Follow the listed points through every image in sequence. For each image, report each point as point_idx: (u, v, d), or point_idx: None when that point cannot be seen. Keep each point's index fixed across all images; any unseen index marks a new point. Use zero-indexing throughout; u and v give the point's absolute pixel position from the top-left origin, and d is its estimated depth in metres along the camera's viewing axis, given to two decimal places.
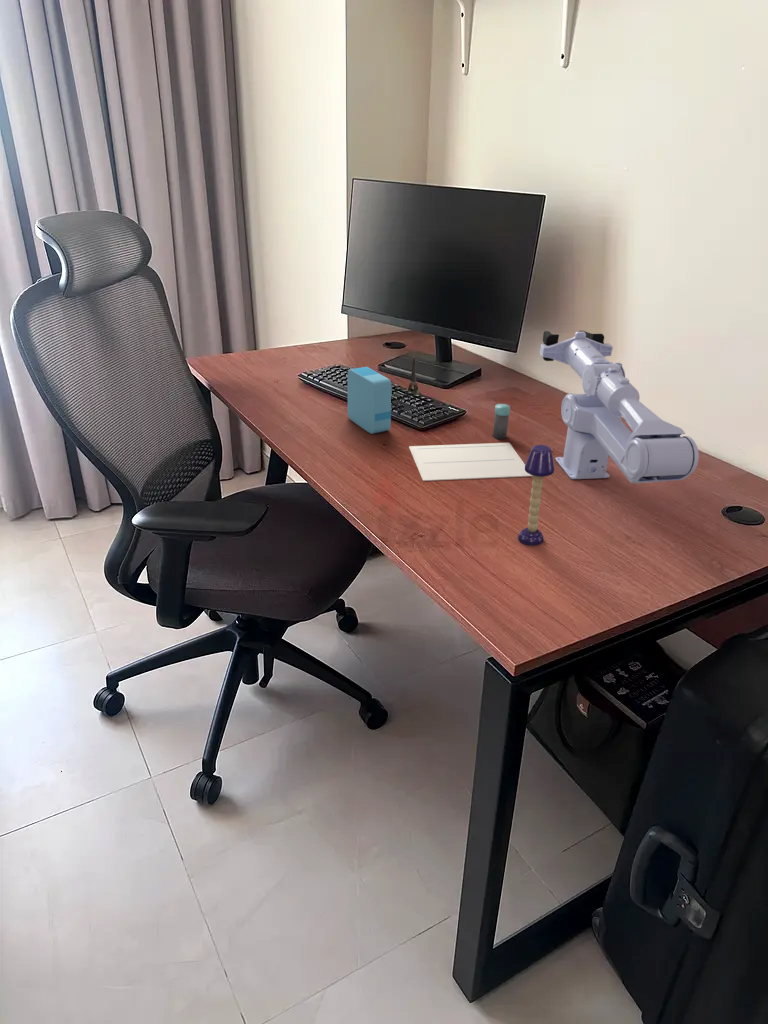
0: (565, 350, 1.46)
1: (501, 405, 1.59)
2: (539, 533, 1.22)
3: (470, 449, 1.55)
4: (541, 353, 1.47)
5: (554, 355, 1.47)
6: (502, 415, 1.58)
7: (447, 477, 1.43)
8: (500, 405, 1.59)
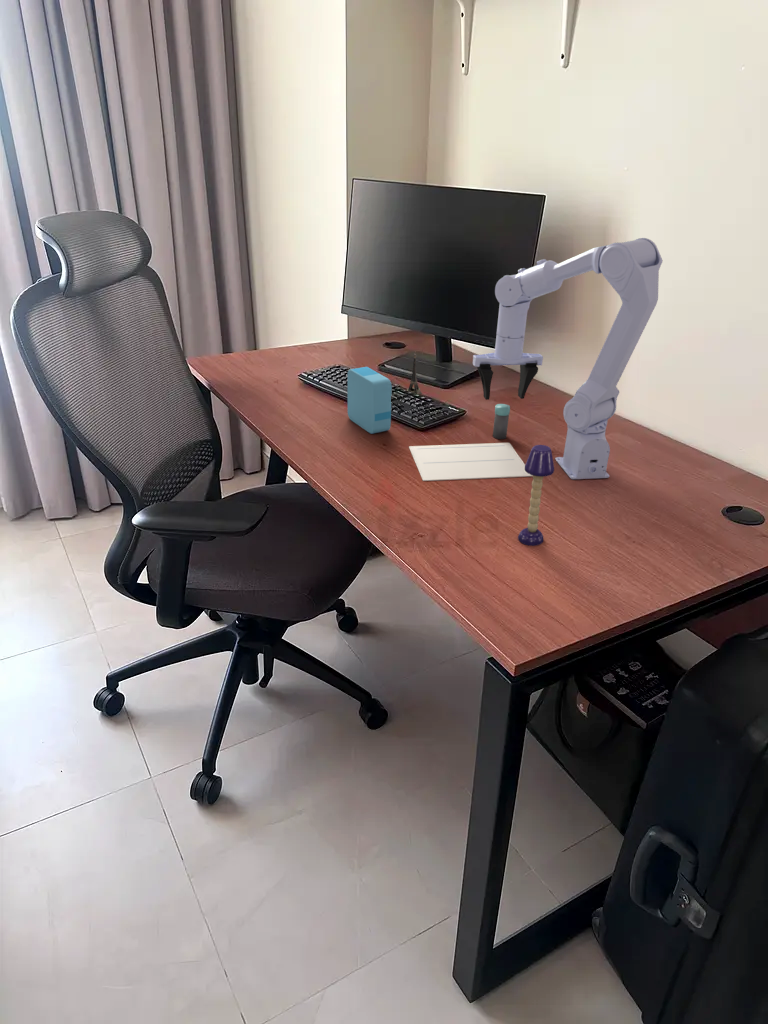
0: (494, 353, 1.53)
1: (501, 405, 1.59)
2: (539, 533, 1.22)
3: (470, 449, 1.55)
4: (474, 360, 1.52)
5: (486, 358, 1.52)
6: (502, 415, 1.58)
7: (447, 477, 1.43)
8: (500, 405, 1.59)
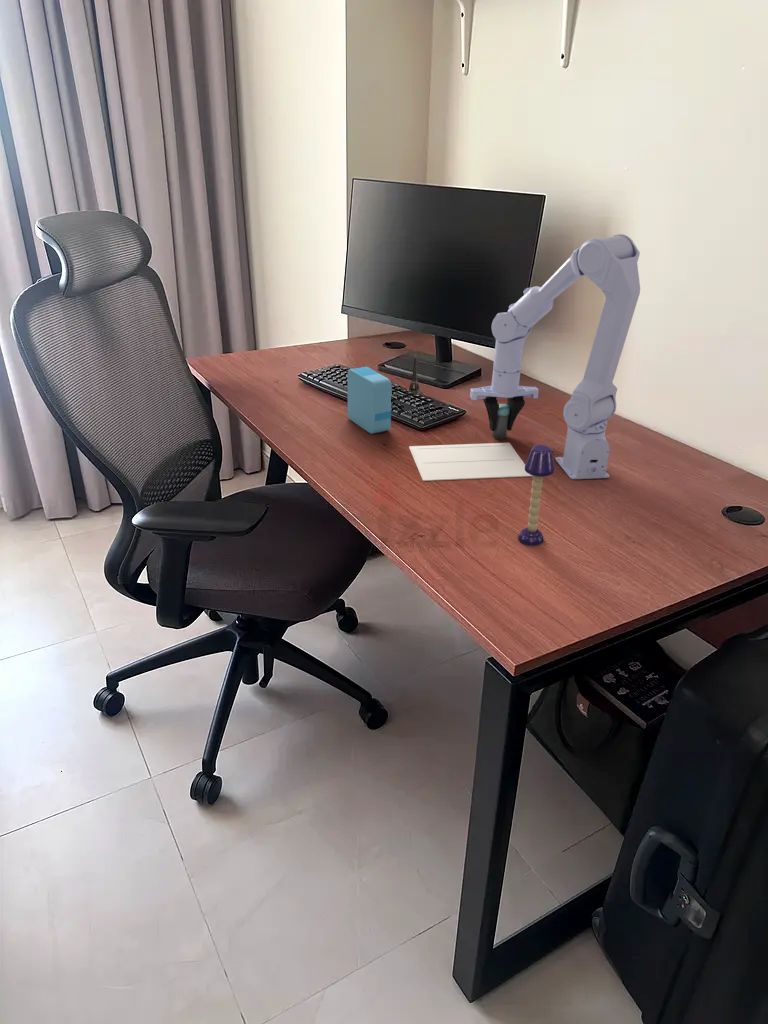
0: (491, 387, 1.56)
1: (501, 405, 1.59)
2: (539, 533, 1.22)
3: (470, 449, 1.55)
4: (471, 394, 1.55)
5: (483, 391, 1.55)
6: (502, 415, 1.58)
7: (447, 477, 1.43)
8: (500, 405, 1.59)
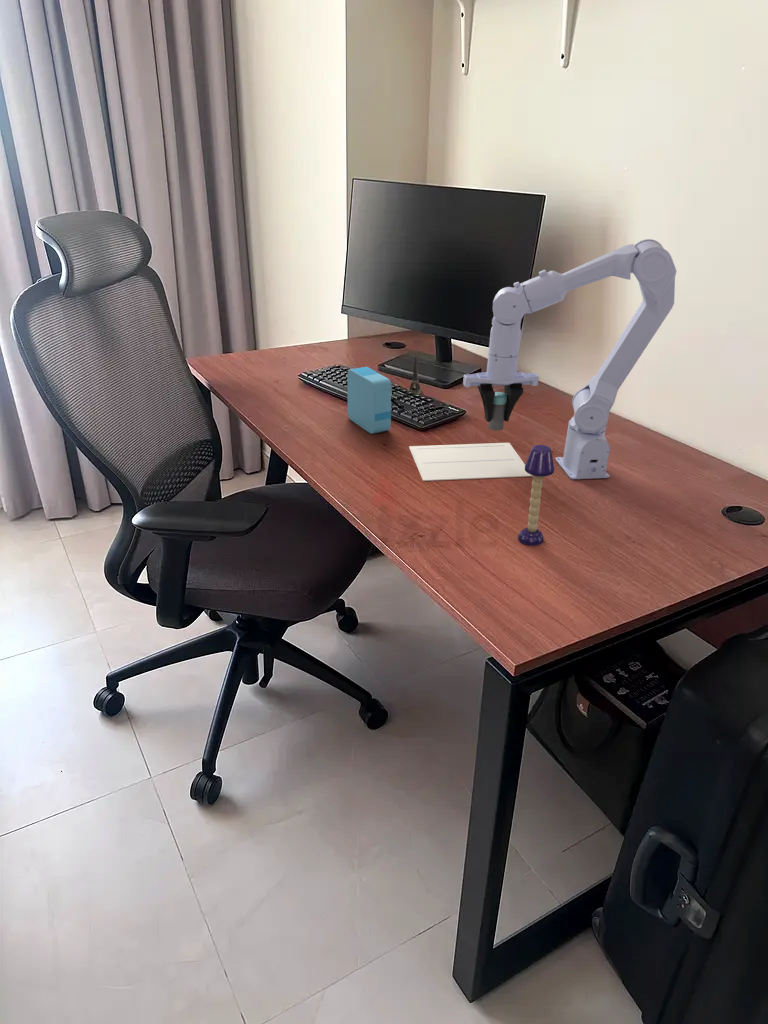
0: (486, 373, 1.42)
1: (497, 393, 1.45)
2: (539, 533, 1.22)
3: (470, 449, 1.55)
4: (465, 380, 1.42)
5: (478, 378, 1.41)
6: (498, 404, 1.44)
7: (447, 477, 1.43)
8: (496, 393, 1.45)
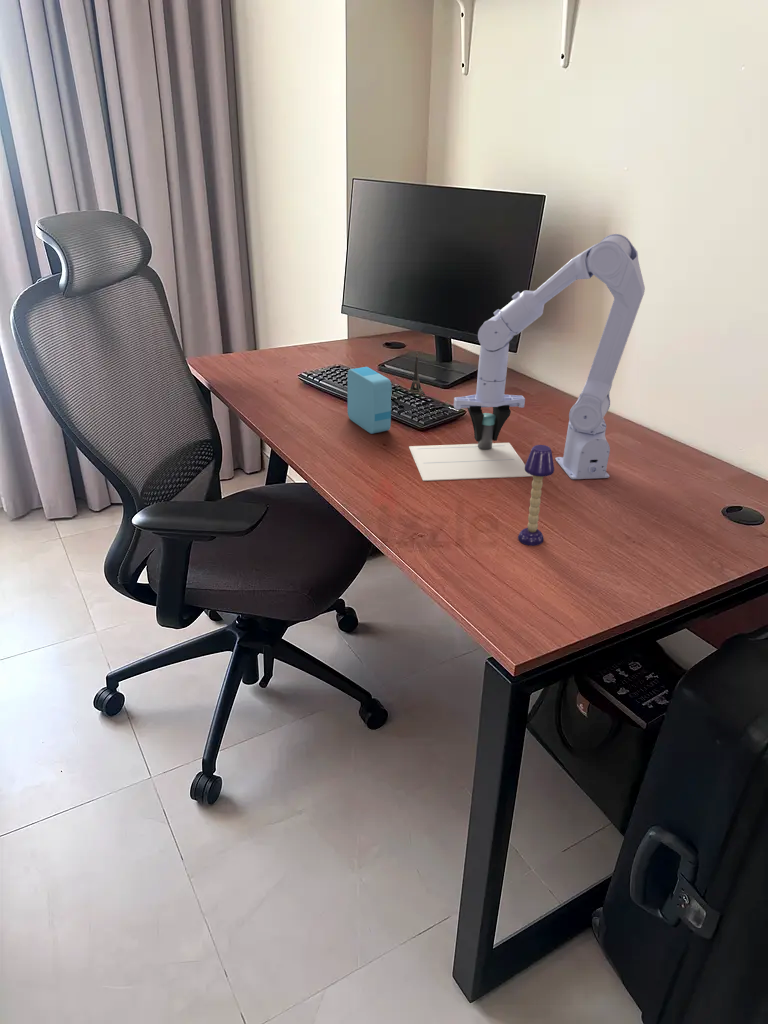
0: (475, 395, 1.50)
1: (486, 414, 1.53)
2: (539, 533, 1.22)
3: (470, 449, 1.55)
4: (455, 403, 1.49)
5: (467, 401, 1.49)
6: (487, 425, 1.52)
7: (447, 477, 1.43)
8: (485, 414, 1.53)
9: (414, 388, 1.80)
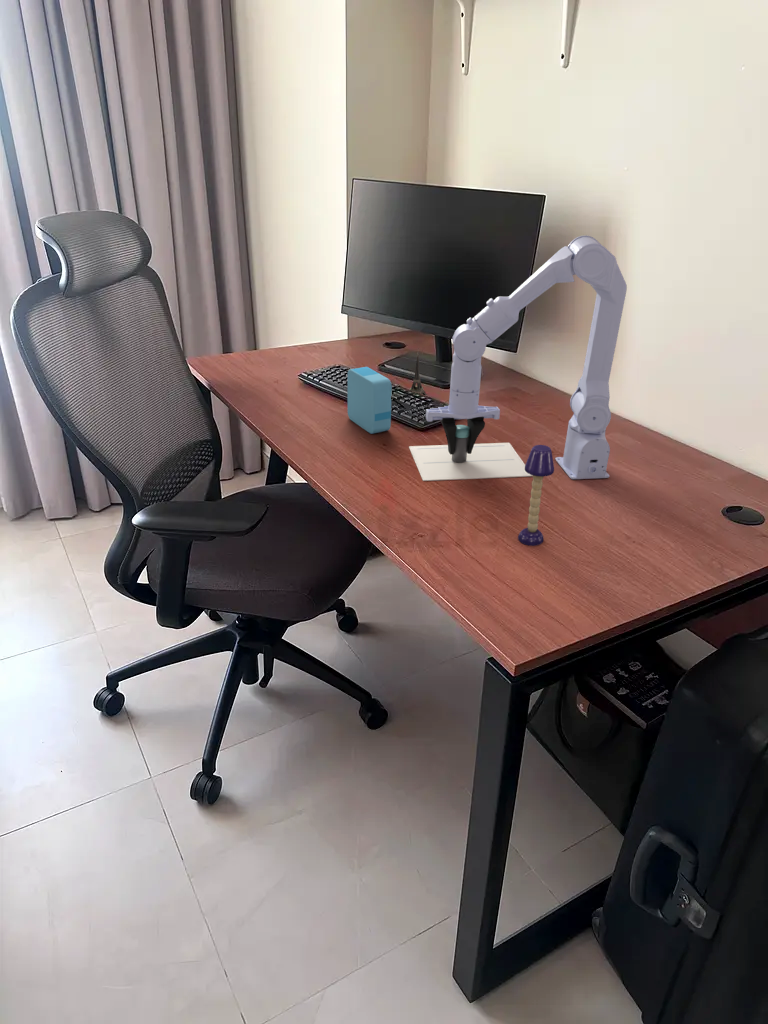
0: (448, 407, 1.44)
1: (460, 426, 1.47)
2: (539, 533, 1.22)
3: None
4: (427, 415, 1.43)
5: None
6: (461, 437, 1.46)
7: (447, 477, 1.43)
8: (459, 426, 1.47)
9: (415, 388, 1.80)
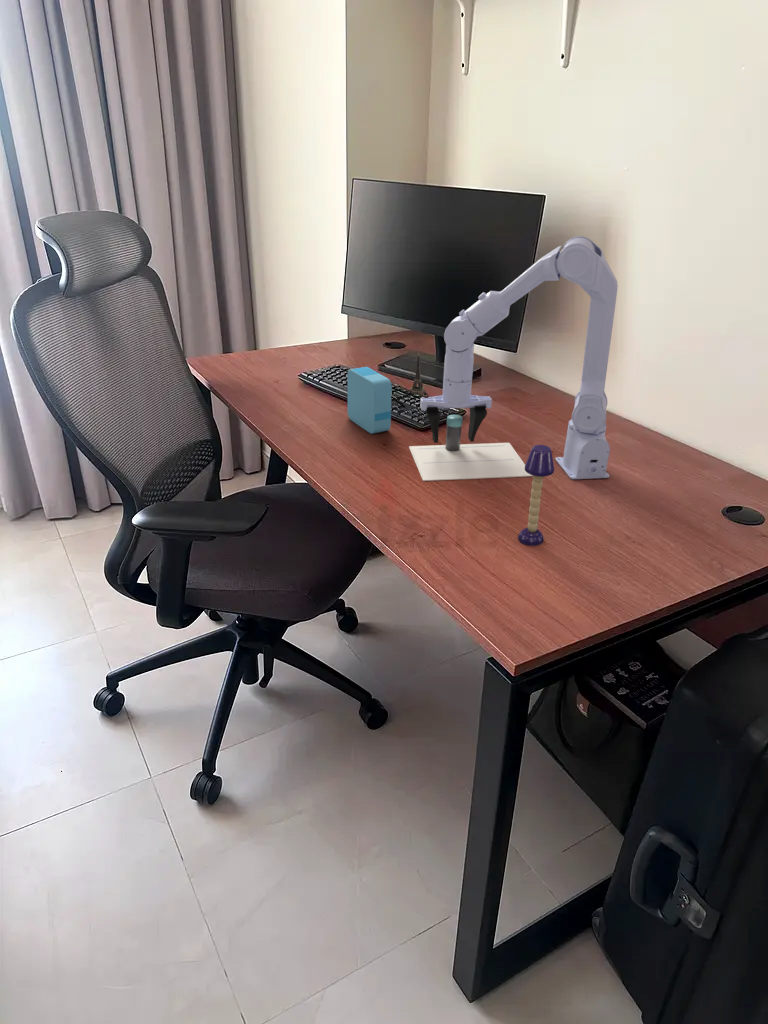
0: (442, 396, 1.49)
1: (453, 416, 1.52)
2: (539, 533, 1.22)
3: (470, 449, 1.55)
4: (421, 404, 1.48)
5: (434, 401, 1.48)
6: (454, 427, 1.51)
7: (447, 477, 1.43)
8: (452, 416, 1.52)
9: (416, 387, 1.80)
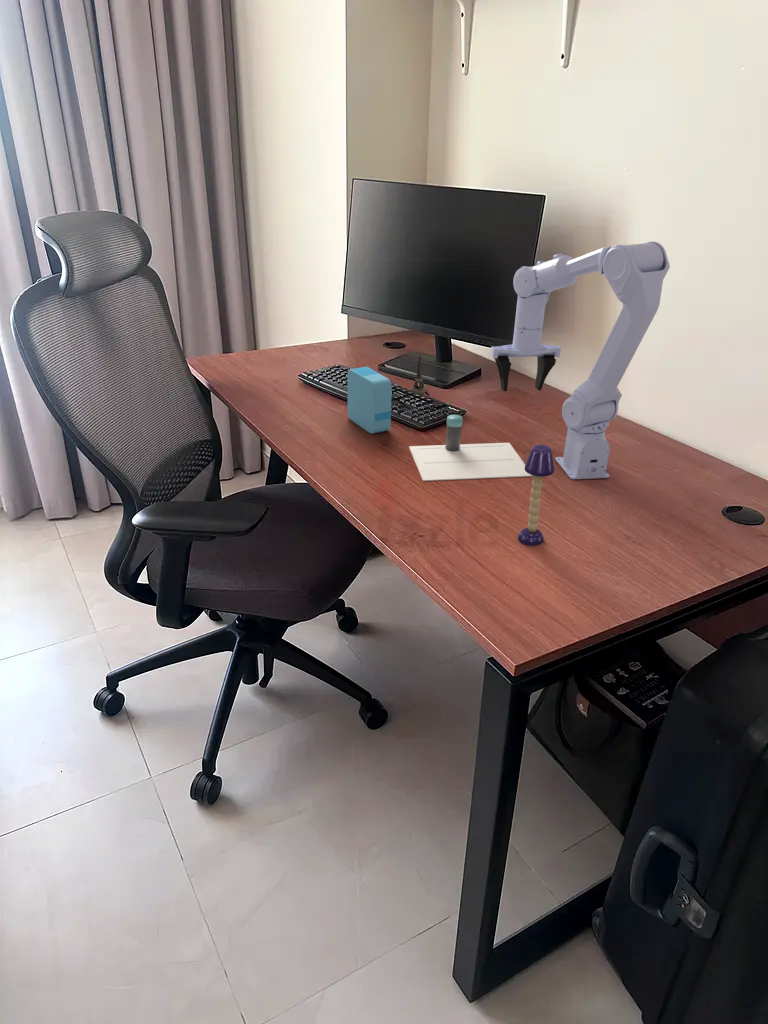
0: (512, 345, 1.54)
1: (453, 416, 1.52)
2: (539, 533, 1.22)
3: (470, 449, 1.55)
4: (492, 352, 1.53)
5: None
6: (454, 427, 1.51)
7: (447, 477, 1.43)
8: (452, 416, 1.52)
9: (417, 386, 1.81)
